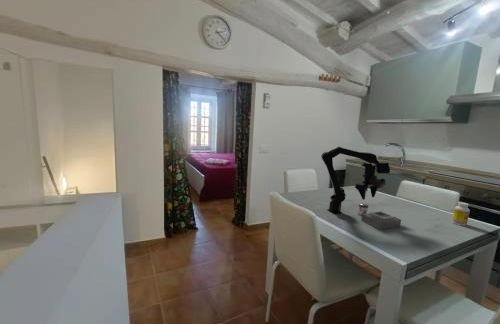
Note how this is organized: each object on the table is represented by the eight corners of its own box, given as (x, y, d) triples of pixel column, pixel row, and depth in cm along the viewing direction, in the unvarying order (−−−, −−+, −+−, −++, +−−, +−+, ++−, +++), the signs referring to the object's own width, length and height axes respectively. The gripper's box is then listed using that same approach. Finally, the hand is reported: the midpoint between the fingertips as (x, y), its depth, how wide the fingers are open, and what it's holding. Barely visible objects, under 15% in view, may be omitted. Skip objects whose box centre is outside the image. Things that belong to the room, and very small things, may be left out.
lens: (362, 216, 140) (363, 206, 139) (356, 213, 145) (357, 203, 144) (368, 216, 142) (370, 205, 141) (362, 213, 147) (363, 202, 146)
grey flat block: (379, 229, 123) (380, 219, 122) (361, 220, 134) (362, 211, 133) (400, 226, 129) (401, 217, 128) (381, 218, 140) (382, 209, 139)
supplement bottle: (463, 226, 133) (468, 205, 131) (449, 222, 139) (453, 202, 137) (468, 225, 136) (473, 204, 134) (454, 220, 142) (458, 200, 140)
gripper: (372, 177, 128) (371, 204, 130) (392, 173, 137) (390, 199, 139) (354, 174, 138) (354, 199, 140) (374, 171, 146) (373, 194, 149)
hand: (368, 198), depth 142 cm, fingers open, 9 cm apart
